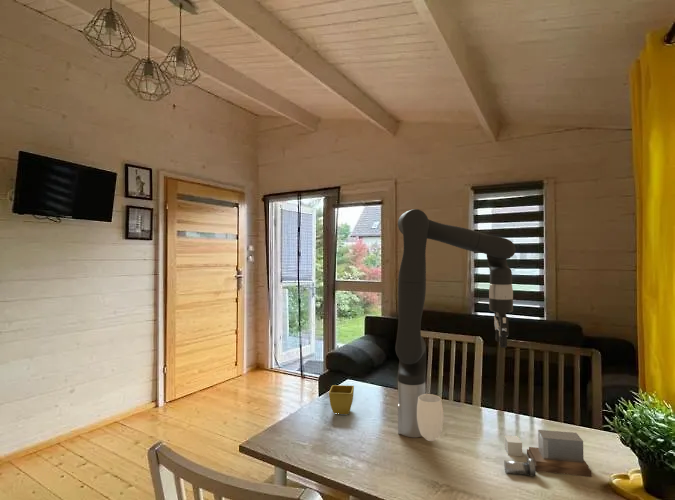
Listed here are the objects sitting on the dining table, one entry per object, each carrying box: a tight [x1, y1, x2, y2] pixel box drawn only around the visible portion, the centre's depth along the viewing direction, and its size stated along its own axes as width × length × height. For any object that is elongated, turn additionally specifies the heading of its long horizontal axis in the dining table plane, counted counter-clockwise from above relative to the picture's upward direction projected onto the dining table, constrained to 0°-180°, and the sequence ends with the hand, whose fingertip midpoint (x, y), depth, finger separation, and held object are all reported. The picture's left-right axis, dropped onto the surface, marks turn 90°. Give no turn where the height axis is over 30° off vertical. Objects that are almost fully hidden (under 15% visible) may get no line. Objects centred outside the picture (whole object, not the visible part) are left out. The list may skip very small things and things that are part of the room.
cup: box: [417, 393, 444, 442], centre depth 108 cm, size 7×7×21 cm
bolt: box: [503, 457, 537, 477], centre depth 107 cm, size 7×4×4 cm, turn 77°
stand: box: [526, 446, 593, 478], centre depth 110 cm, size 14×9×2 cm, turn 77°
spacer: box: [503, 435, 523, 457], centre depth 118 cm, size 4×4×4 cm
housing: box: [537, 429, 585, 463], centre depth 110 cm, size 5×10×6 cm, turn 77°
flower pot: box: [328, 384, 355, 415], centre depth 149 cm, size 9×9×9 cm
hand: (501, 344), depth 133 cm, fingers open, 8 cm apart
